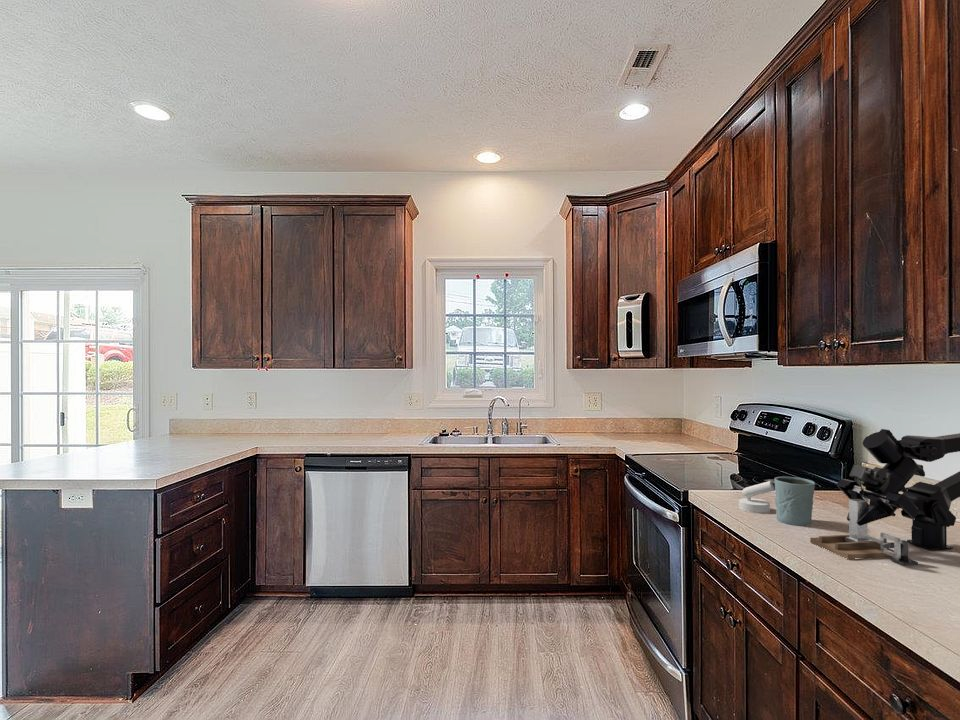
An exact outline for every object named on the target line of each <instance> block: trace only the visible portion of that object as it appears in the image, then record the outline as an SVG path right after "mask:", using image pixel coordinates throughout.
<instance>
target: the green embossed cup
mask: <svg viewBox="0 0 960 720" xmlns="http://www.w3.org/2000/svg"><path fill="white" fill-rule="evenodd" d="M815 486H816V482H815V481H814V480H811V479H807V478H804V477H795V476H794V477H793V476H777V477H774V488H775V491H774V492H775V493H774V494H775V507H776V510H775V513H776V519H777V522H780V523H781V524H784V525H790V526H795V525H796V527H797V526H798V527H807V526H806V525H808V526H810V525H811V523H812V517H813V514H812V513H813V507H814V506H813V505H814V495H815Z"/></svg>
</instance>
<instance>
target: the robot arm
mask: <svg viewBox="0 0 960 720" xmlns="http://www.w3.org/2000/svg"><path fill="white" fill-rule="evenodd" d="M862 447H864V448H865V449H866V450H867V451H868V453H870V455H872V457H873V458H874V459H875V460H876V461H877V462H878V463H879V464H883V465H884V466H883V467H879V466H875V467H873V468H870V467H866V466H863V465H859V464H853V465H852V468H851V471H850V473H849V477H850V478H855V479H857V480H859V482H860V484H861V485H860V484H859V483H857V482H856V480H852V479H851V480H850V479H848V478H847V479H846V478H841V479H840V480H839V481H838V482H837V483H836V486H837V488H838V489H839V490H841V492H843V494H844V495H845V496H846V497H847V498H848V500H849V499H860V500H864V501H867V508H866V510H865V511H864V512H863V514H862V515H861V516H860V517H859V519H858V521H857V524H858V525H859V526H861V525H864V524H867V525H868V524H869V523H873V522H875V521H878V520H879V521H880V520H882V519H885V518H886V519H887V518H889V517H896V513H895V512H896V511H897V510H900V509H902V510H901V511H900V514H901V516H902V517H903V518H905V519H906V518H907V519H910V520H912V525H911V539H907V540H906V541H908V542H909V544H912V545H915V546H917V547H920V548H923V549H925V550H929V551H942V550H943V551H945V550H953V549H954V547H953V546H951V545H948V544H947V543H948V542H947V536H948V535H947V533H948V531H947V528H950V527H953V526H955V523H956V519H957V517H956V516H955V514H953V513H952V511H951V510H950V508H951V505H952V502H953V501H955V500H957V499H958V498H960V471H957V472H956V473H954V474H952V475H950V476H948V477H946V478H944V479H942V480H940V481H938V482H937V483H935V484H932V483H927V482H922V481H918V482H916V483H914V484H913V485H912V486H908V487H905V486H906V485H907V484H908V482H909V481H910V480H911V479H912V478H913V477H914V476H919V477H922V478H924V477H926V472H925V470H924V465H922V464H918V463H917V462H916V461H915V460H917V461H922V462H928V463H931V462H935V461H937V460H940V459H942V458H944V457H945V455H947V454H952V453H958V452H959V453H960V432H959V433H954V434H946V435H938V436H922V435H904V436H902V437H901V439H897V438H896V437H895V436H894V435H893V432H892V431H891V430H890V429H884V428H881V429H880V430H879V431H876V432H873V433H871V434H869V435H867V436H865V438H864V439H863V441H862ZM863 487H864V488H863ZM901 492H902V493H901ZM846 516H847V517H846V520H847V522H849V512H848V513H847V515H846Z"/></svg>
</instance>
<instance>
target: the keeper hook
mask: <svg viewBox="0 0 960 720" xmlns="http://www.w3.org/2000/svg"><path fill="white" fill-rule="evenodd" d="M909 544H910V543H909V542H908V541H907V540H905V539H901V558H899V559H897V558H895V557H890V558H889V561H892V562H894V563H896V562H897V564H900V565H901V566H904V567H905V566H918V565H919V562H918V561H916V560H913V559H912V558H910V556H909V554H910V549H909V548H910V546H909ZM882 546H883V547H884V548H889V549H894V541H892V542H887V543H883V544H882Z"/></svg>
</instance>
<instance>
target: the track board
mask: <svg viewBox="0 0 960 720" xmlns="http://www.w3.org/2000/svg"><path fill="white" fill-rule="evenodd" d="M845 537H849V534H838V535H837V534H835V535H819V536H818V537H810V540H809V541H810V542H812V543H811V544H813V543H814V544H813V545H815V544H816V545H815V546H817V545H818V546H817V547H819V546H820V548H821V547H823V548H822V549H824V548H825V549H824V550H826V549H827V550H826V551H828V550H829V551H828V552H830V551H831V553H832V552H833V554H834V553H836V554H835V555H837V554H838V555H837V556H839V555H840V556H839V557H841V556H842V557H841V558H843V557H844V559H845V558H847V559H846V560H848V559H851V560H856V559H855V558H872V559H888V558H889V557H892V556H890V555H887V554H885V553H883V552H881V544H879V543H877V542H874V541H872V540H870V541H867V542H846V541H845ZM868 540H869V539H868ZM887 550H890V551H892V552H894V549H893V548H887ZM889 559H890V558H889Z"/></svg>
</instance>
